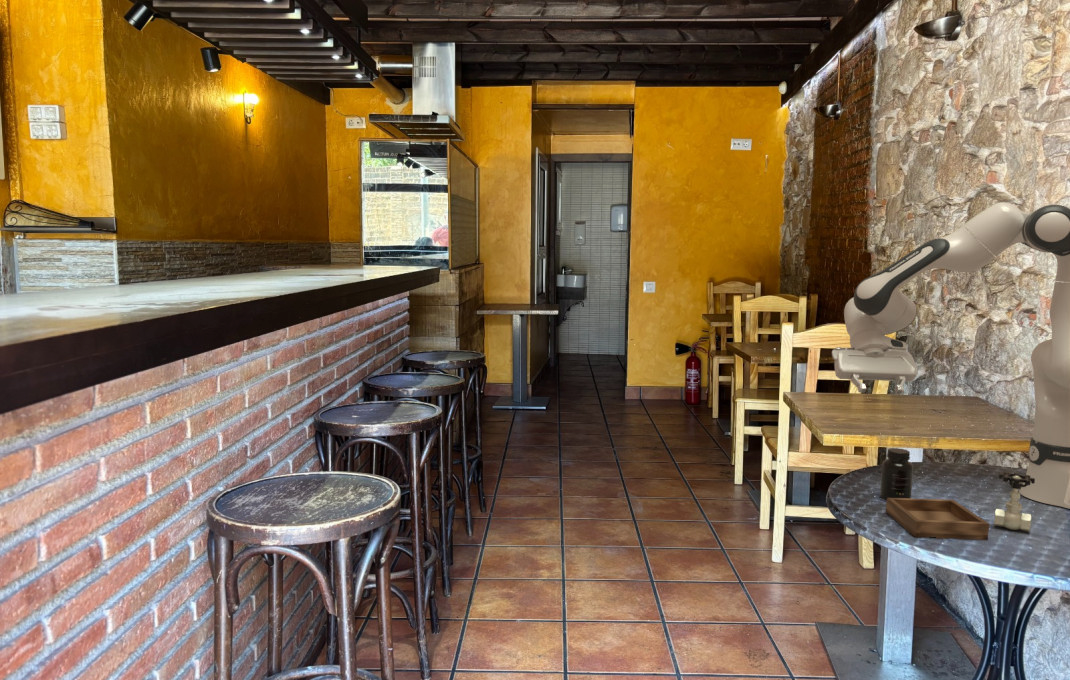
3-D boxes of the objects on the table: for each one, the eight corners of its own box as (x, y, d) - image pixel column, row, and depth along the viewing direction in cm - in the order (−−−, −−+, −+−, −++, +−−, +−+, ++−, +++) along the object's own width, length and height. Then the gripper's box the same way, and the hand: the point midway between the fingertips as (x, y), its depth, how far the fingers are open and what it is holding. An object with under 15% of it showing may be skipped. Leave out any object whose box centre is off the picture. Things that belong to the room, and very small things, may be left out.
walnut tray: (952, 514, 175) (953, 499, 174) (987, 539, 160) (989, 523, 160) (885, 512, 176) (886, 497, 175) (914, 537, 161) (916, 521, 160)
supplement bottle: (876, 492, 190) (879, 445, 188) (905, 494, 189) (908, 447, 187) (884, 502, 183) (888, 453, 181) (914, 503, 182) (918, 455, 180)
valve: (1029, 537, 162) (1035, 482, 161) (993, 530, 166) (998, 477, 164) (1029, 527, 168) (1034, 475, 166) (994, 521, 171) (999, 469, 170)
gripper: (833, 340, 201) (844, 383, 193) (912, 342, 200) (926, 386, 192) (826, 354, 206) (836, 397, 198) (903, 357, 205) (916, 400, 197)
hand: (881, 392), depth 195 cm, fingers open, 8 cm apart
